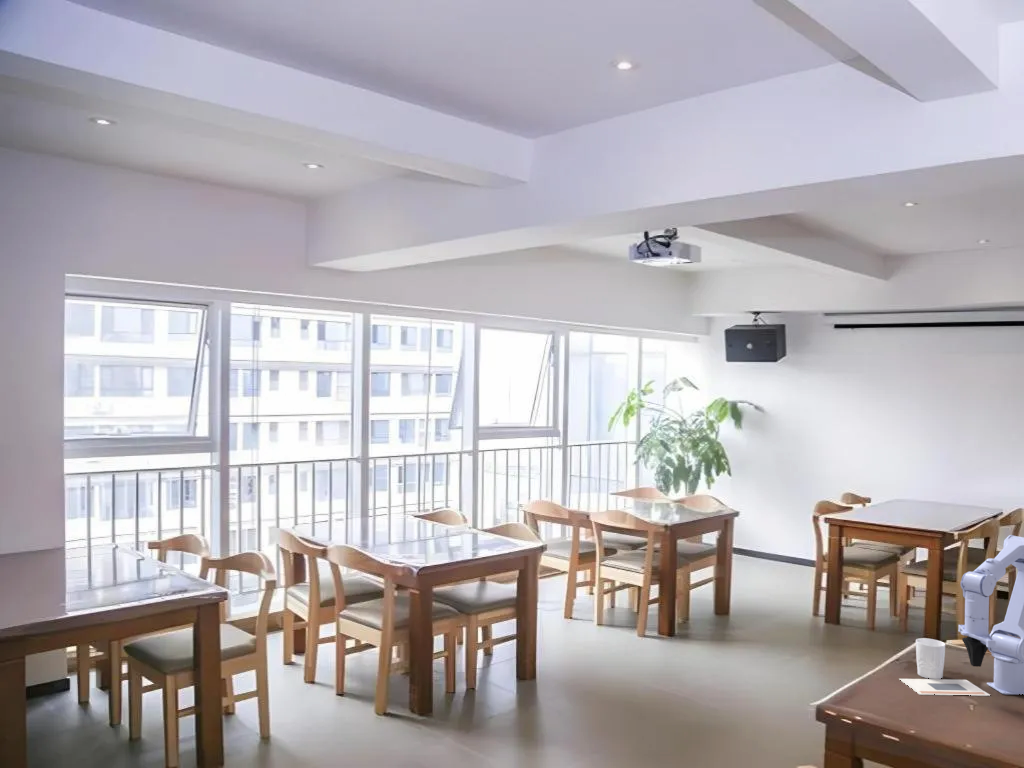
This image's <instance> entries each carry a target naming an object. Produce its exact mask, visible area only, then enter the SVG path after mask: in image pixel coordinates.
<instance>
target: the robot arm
mask: <svg viewBox="0 0 1024 768" xmlns="http://www.w3.org/2000/svg"><path fill="white" fill-rule="evenodd" d="M1010 565H1012V566H1013V567H1015V568H1016V569H1017V574H1016V578H1015V582H1014V585H1013V589H1012V591H1011V594H1010V595H1011V596H1010V599H1009V602H1008V606H1007V609H1006V614H1005V616H1004V620H1003V621H1002V622H1000V623H997V624H994V625H993V627H992V629H991V631H990V633H989V626H990V625H989V620H990V619H989V617H990V615H989V614H990V613H989V611H990V608H989V607H990V596H992V594H993V593H994V589H995V588H996V586H997V582H999V581H1000V580H1001V579H1002V578H1003V577H1004V576H1005V575H1006V572H1007V570H1006V568H1008V567H1009V566H1010ZM960 588H961V590H962V596H963V598H964V624H958V630H957V631H958V632H959V633H960V635H962V636H967V637H962V639H961V640H962V642H963V644H964V646H965V648H966V651H967V655H968V658H969V659H968V660H969V662H970V665H971V666H972V667H977V668H979V667H980V668H981V667H982V664H983V661H984V658H985V655H986V653H987V651H989V652H990V653H991V656H992V657H993V682H986V685H987V686H989V687H990V688H992V689H994V690H995V691H996V692H999V693H1000V694H1002V695H1019V694H1020V695H1022V694H1023V695H1024V537H1023V536H1018V535H1017V536H1016V535H1014V534H1009V535H1008V536H1007V537H1006V538H1005V539H1004V540H1003V547H1002V549H1001V550H1000V551H999V553H998V554H997V555H996V556H994V558H991V557H989V558H986V560H984V561H983V562H982V563H981V564H980V565H979V566H978V567H977V568H976V569H974V570H973V571H967V572H965V573H964V574H963V575H962V577H961V580H960Z"/></svg>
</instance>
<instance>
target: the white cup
mask: <svg viewBox="0 0 1024 768" xmlns="http://www.w3.org/2000/svg"><path fill="white" fill-rule="evenodd" d="M915 654H916V655H915V657H916V666H917V667H916V668H917V675H918V676H919V677H922V678H923V679H928V678H929V679H941V678H942V679H943V676H944V666H945V658H946V657H945V655H946V643H945V642H943V641H941V640H938V639H933V638H929V637H928V638H926V637H923V638H921V637H920V638H916V639H915Z"/></svg>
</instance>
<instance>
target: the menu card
mask: <svg viewBox="0 0 1024 768" xmlns="http://www.w3.org/2000/svg"><path fill="white" fill-rule="evenodd" d="M898 680H899V681H900V680H901V681H900V682H901V683H903V684H904V683H905V684H904V685H906V686H907V685H908V686H909V687H908V686H907V687H908V688H910V689H911V688H912V689H913V690H912V689H911V690H912V691H914V692H915V693H916V692H917V694H918V695H919V696H953V695H969V696H970V695H971V696H970V697H991V696H990V695H991V694H990V693H988V692H986V691H985V690H983V689H982V688H980V687H979V686H977V685H975V684H974V683H973V682H971V681H969V680H967V679H945V678H944V679H943V678H942V679H928V678H898ZM934 694H935V695H934ZM969 696H968V697H969Z"/></svg>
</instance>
